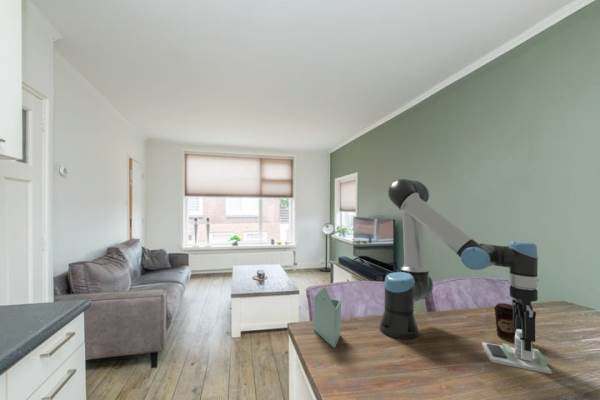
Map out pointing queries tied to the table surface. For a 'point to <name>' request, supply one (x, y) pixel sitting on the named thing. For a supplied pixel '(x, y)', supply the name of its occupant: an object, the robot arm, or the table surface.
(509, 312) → the coffee cup
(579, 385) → the table surface
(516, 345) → the pill bottle
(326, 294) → the green magazine holder
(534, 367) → the dock
